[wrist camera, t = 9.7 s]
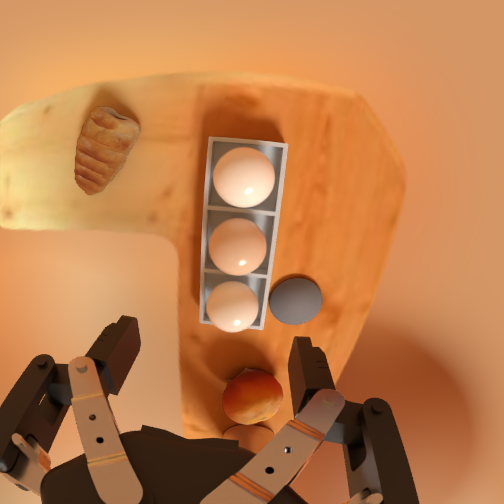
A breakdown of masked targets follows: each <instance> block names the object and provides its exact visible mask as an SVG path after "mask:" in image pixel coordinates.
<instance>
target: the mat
mask: <svg viewBox="0 0 504 504" xmlns="http://www.w3.org/2000/svg"><path fill="white" fill-rule="evenodd" d="M321 306H322V294H321V291H320V289H319V288H318V286H317V285H316V284H315V283H314V282H312V281H310V280H308V279H305V278H291V279H288V280H285V281H283V282H282V283H280V284H279V285H278V286H277V287H276V288H275V289H274V290H273V292H272V294H271V297H270V309H271V312H272V314H273V315H274V316H275V318H277V319H278V320H279V321H281V322H283V323H285V324H290V325H297V324H302V323H305V322H308V321H309V320H311V319H312V318H314V317H315V316H316V315H317V314H318V312H319V311H320V309H321Z"/></svg>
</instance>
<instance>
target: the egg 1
mask: <svg viewBox="0 0 504 504" xmlns="http://www.w3.org/2000/svg"><path fill="white" fill-rule="evenodd" d="M213 181H214V186H215V189H216V191H217V193H218V194H219V196H220V197H221V198H222V199H223V200H224V201H225V202H227V203H228V204H230V205H233V206H236V207H241V208H247V207H253V206H255V205H258V204H260V203H261V202H263V201H264V200H265V199H266V198H267V197H268V196H269V195H270V193H271V191H272V189H273V186H274V182H275V172H274V168H273V165H272V163H271V162H270V160H269V159H268V158H267V156H266V155H264V154H263V153H262V152H260V151H258V150H256V149H253V148H249V147H239V148H235V149H232V150H230V151H228V152H227V153H225V154H224V155H223V156H222V157H221V158H220V159H219V161H218V162H217V164H216V166H215V169H214V174H213Z"/></svg>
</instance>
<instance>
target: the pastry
mask: <svg viewBox="0 0 504 504" xmlns="http://www.w3.org/2000/svg"><path fill="white" fill-rule="evenodd" d="M140 130H141V127H140V125H139V124H138V123H136V122H135V121H134V120H133V119H131V118H129V117H125V116H123V115H119V114H118V113H117V111H116V110H114V109H112V108H110V107H106V106H104V107H97V108H95V109H93V110H92V111H91V115H90V116H89V118H88V119H87V121H86V122H85V124H84V125H83V127H82V131H81V135H80V137H79V138H78V141H77V147H76V157H75V170H74V171H75V180H76V182H77V184H78V186H79V187H80V188H81V189H82V190H84V191H85V193H86V194H88V195H93V194H96V193H99V192H101V191H103V189H104V188H105V186H107V184H108V183H109V182H110V181H111V180H112V179H113V178H114V176H115V175H116V173H117V172H118V171H119V170H120V169H121V168H122V167H123V165H124V163H125V161H126V158H127V156H128V154H129V152H130V151H131V149H132V147H133V145H134V143H135V141H136V139H137V137H138V135H139V133H140Z"/></svg>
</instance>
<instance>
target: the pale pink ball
mask: <svg viewBox="0 0 504 504" xmlns="http://www.w3.org/2000/svg"><path fill="white" fill-rule="evenodd" d="M266 248H267V245H266V239H265V236H264V234H263V232H262V230H261V229H260V228H259V227H258V226H257V225H256V224H255V223H254V222H252V221H250V220H248V219H244V218H231V219H228V220H225V221H224V222H222V223H220V224H219V225H218V226H217V227H216V228H215V230H214V231H213V233H212V235H211V237H210V241H209V253H210V257H211V259H212V261H213V262H214V264H215V265H216V266H217V267H218V268H219V269H220V270H221V271H223V272H225V273H227V274H230V275H236V276H239V275H246V274H249V273H251V272H252V271H254V270H255V269H257V268H258V267H259V266H260V264H261V263H262V261H263V260H264V258H265V255H266Z"/></svg>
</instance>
